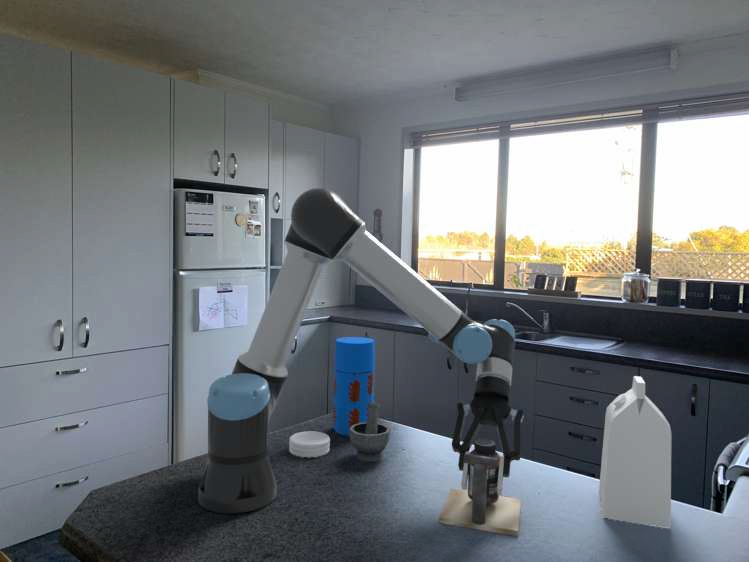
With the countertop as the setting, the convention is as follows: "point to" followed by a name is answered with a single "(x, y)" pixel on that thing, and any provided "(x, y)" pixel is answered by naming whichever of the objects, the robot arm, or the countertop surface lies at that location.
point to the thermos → (353, 382)
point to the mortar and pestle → (370, 436)
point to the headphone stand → (481, 504)
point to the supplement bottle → (487, 450)
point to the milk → (636, 460)
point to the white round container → (309, 444)
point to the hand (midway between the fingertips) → (481, 489)
